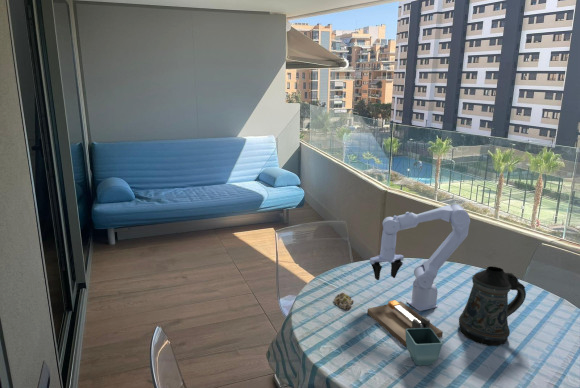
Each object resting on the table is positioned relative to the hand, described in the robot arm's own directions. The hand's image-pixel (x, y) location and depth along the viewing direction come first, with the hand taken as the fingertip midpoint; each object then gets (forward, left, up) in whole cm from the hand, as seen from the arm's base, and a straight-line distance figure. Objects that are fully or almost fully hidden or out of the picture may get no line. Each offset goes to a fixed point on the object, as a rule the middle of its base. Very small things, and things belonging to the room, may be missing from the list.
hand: (385, 278), depth 160 cm
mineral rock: (+16, -4, -11) cm, 20 cm away
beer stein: (-21, +32, -11) cm, 40 cm away
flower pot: (+12, +36, -11) cm, 40 cm away
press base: (+4, +17, -10) cm, 20 cm away
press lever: (+4, +18, -7) cm, 20 cm away
